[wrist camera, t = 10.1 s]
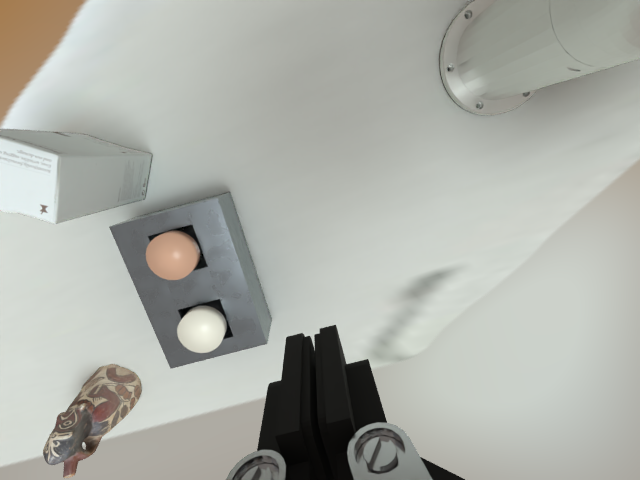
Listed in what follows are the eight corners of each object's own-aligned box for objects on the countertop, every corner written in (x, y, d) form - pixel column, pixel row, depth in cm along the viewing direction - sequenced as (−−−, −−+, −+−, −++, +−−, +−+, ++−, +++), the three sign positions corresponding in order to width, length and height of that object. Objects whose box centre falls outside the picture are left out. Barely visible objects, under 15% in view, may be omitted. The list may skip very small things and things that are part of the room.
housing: (229, 192, 41) (217, 197, 35) (271, 319, 45) (266, 343, 39) (137, 216, 41) (109, 226, 35) (187, 341, 45) (170, 368, 40)
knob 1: (207, 215, 41) (185, 228, 33) (220, 252, 42) (202, 273, 35) (168, 225, 41) (138, 241, 33) (182, 262, 42) (156, 285, 35)
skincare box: (154, 153, 39) (66, 152, 25) (145, 202, 40) (58, 227, 26) (80, 132, 38) (-55, 118, 24) (74, 183, 40) (-57, 198, 25)
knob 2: (230, 281, 43) (214, 307, 36) (242, 314, 44) (229, 346, 37) (193, 290, 43) (170, 318, 36) (206, 324, 44) (186, 357, 37)
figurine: (129, 358, 46) (69, 427, 34) (150, 399, 47) (100, 478, 36) (81, 372, 46) (5, 446, 34) (104, 413, 48) (39, 496, 36)
